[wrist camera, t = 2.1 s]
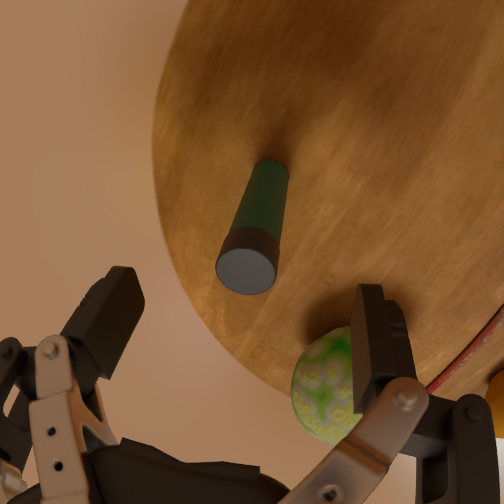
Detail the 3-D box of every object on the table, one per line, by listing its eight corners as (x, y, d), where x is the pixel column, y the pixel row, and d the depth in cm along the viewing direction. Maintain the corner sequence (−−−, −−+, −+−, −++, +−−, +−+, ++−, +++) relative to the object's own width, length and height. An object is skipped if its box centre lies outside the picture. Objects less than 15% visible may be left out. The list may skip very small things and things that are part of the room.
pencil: (418, 398, 32) (419, 405, 31) (412, 398, 32) (412, 404, 31) (520, 290, 21) (524, 297, 20) (513, 287, 21) (517, 295, 20)
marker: (243, 171, 19) (202, 265, 12) (274, 151, 18) (249, 237, 11) (266, 199, 20) (241, 303, 13) (297, 181, 19) (288, 281, 12)
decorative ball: (275, 319, 26) (257, 430, 18) (391, 284, 22) (413, 403, 14) (318, 377, 31) (312, 466, 23) (411, 352, 27) (425, 447, 19)
